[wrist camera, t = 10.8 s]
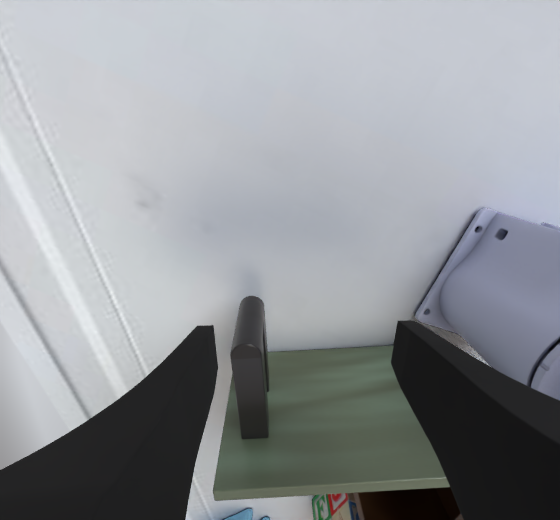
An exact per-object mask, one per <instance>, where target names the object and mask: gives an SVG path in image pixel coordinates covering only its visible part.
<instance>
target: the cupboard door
mask: <svg viewBox="0 0 560 520" xmlns="http://www.w3.org/2000/svg"><path fill="white" fill-rule="evenodd" d="M393 346H394V345H393ZM393 346H375V347H356V348H337V349H319V350H300V351H281V352H267V339H266V325H265V311H264V303H263V302H262V300H261V299H260V298H258V297H256V296H248V297H246V298H244V299H243V300H242V301H241V303H240V308H239V313H238V318H237V323H236V329H235V334H234V339H233V344H232V349H231V363H232V371H233V374H232V380H231V386H230V392H229V398H228V404H227V410H226V416H225V422H224V427H223V433H222V439H221V445H220V451H219V457H218V463H217V469H216V475H215V481H214V487H213V494H214V499H215V501H220V500H237V499H254V498H271V497H289V496H306V495H323V494H340V493H357V492H374V491H391V490H409V489H426V488H443V487H450V485H449V483H448V481H447V478H446V476H445V474H444V471H443V469H442V467H441V464H440V462H439V460H438V457H437V455H436V453H435V451H434V449H433V447H432V445H431V443H430V442H429V440H428V438H427V436H426V434H425V432H424V431H423V429H422V427H421V425H420V423H419V421H418V420H417V418H416V416H415V414H414V412H413V410H412V409H411V407H410V405H409V403H408V401H407V399H406V397H405V395H404V394H403V392H402V390H401V388H400V386H399V383H398V381H397V378H396V376H395V373H394V370H393V367H392V365H391V358H392V352H393Z"/></svg>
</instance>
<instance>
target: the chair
mask: <svg viewBox="0 0 560 520" xmlns="http://www.w3.org/2000/svg"><path fill="white" fill-rule="evenodd" d="M252 513H253V511H252V509H246V510H244V511H242V512H240V513H238V514H236V515H234V516H231V517H229V518H226V519H224V520H252ZM261 520H270V518H269V517H265V518H263V519H261Z"/></svg>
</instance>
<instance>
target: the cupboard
mask: <svg viewBox="0 0 560 520" xmlns="http://www.w3.org/2000/svg"><path fill="white" fill-rule="evenodd" d="M353 494H354V498H355V502H356V507H357V511H358V515H359V519H360V520H463V517H462V515H461V512H460V510H459V507H458V505H457V502H456V500H455V497H454V495H453V492H452V490H451V488H450V487H443V488H426V489H409V490H391V491H374V492H357V493H353Z"/></svg>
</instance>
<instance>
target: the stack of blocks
mask: <svg viewBox="0 0 560 520" xmlns="http://www.w3.org/2000/svg"><path fill="white" fill-rule="evenodd" d="M312 507H313V518H314V520H360V519H359V515H358V511H357V507H356V502H355V498H354V494H353V493H340V494H323V495H316V496H315V497H314V498H313V499H312Z"/></svg>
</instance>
